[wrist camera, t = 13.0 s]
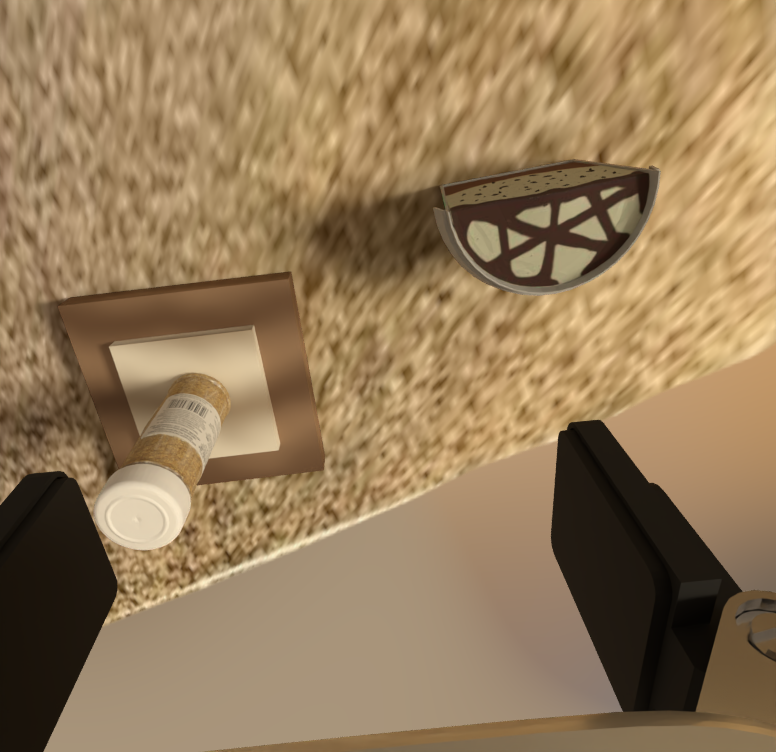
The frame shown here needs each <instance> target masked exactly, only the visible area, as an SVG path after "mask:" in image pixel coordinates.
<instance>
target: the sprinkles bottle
mask: <svg viewBox="0 0 776 752" xmlns="http://www.w3.org/2000/svg"><path fill="white" fill-rule="evenodd" d="M230 408H231V399H230V396H229V393H228V392H227V390H226V388H225V387H224V386H223V384H222V383H220V382H219V381H218V380H216V379H215V378H213V377H211V376H207V375H205V374H197V373H192V374H187V375H184V376H182V377H180V378H178V379H177V380H175V381H174V382H173V384H172V385H171V387H170V388H169V390H168V394H167V396H166V397H165V399H164V401H163V402H162V403H161V405H160V406H159V407H158V408H157V409H156V411H155V412H154V414H153V415H152V417H151V418H150V420H149V421H148V423H147V424H146V426H145V427H144V429H143V431H142V433H141V436H140V437H139V438H138V440H137V442H136V443H135V445H134V447H133V448H132V450H131V451H130V453H129V454H128V456H127V457H126V459H125V461H124V463H123V464H122V466H121V467H120V469H119V470H117V471H116V472H115V473H114V474H113V475H112V476H111V477H110V478H109V479H108V481H107V482H106V484H105V485H104V487H103V488H102V490H101V492H100V494H99V495H98V497H97V499H96V501H95V505H94V518H95V521H96V523H97V525H98V527H99V529H100V530H101V531H102V533H103V534H104V535H105V536H106V537H108V538H109V539H110V540H112V541H113V542H115V543H117V544H119V545H121V546H123V547H127V548H130V549H135V550H151V549H157V548H160V547H163V546H165V545H167V544H169V543H170V542H172V541H173V540H174V539H175V538H176V537H177V536H178V534H179V533H180V531H181V529H182V527H183V525H184V523H185V521H186V518H187V516H188V513H189V511H190V506H191V498H192V495H193V493H194V490H195V488H196V485H197V483H198V481H199V480H200V478H201V476H202V473H203V471H204V469H205V466H206V464H207V461H208V459H209V457H210V454H211V452H212V450H213V447H214V445H215V443H216V440H217V438H218V435H219V433H220V429H221V426H222V424H223V421H224V419H225V418H226V416H227V415H228V413H229V411H230Z"/></svg>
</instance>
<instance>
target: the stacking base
mask: <svg viewBox="0 0 776 752" xmlns="http://www.w3.org/2000/svg"><path fill="white" fill-rule="evenodd" d="M58 309H59V312H60V314H61V317H62V320H63V322H64V325H65V328H66V330H67V333H68V336H69V338H70V341H71V344H72V346H73V349H74V351H75V354H76V357H77V359H78V362H79V365H80V367H81V370H82V373H83V375H84V378H85V381H86V383H87V386H88V389H89V391H90V394H91V397H92V399H93V402H94V404H95V407H96V410H97V412H98V415H99V418H100V420H101V423H102V426H103V428H104V431H105V434H106V436H107V439H108V442H109V444H110V447H111V449H112V452H113V455H114V457H115V460H116V463H117V465H118V468H119V469H120V467H121V466H122V464H123V463H124V461H125V459H126V457H127V456H128V454H129V453H130V451H131V450H132V448H133V447H134V445H135V443H136V442H137V440H138V438H139V437H140V436H141V433H142V431H143V429H144V427H145V426H146V424H147V423H148V421H149V420H150V418H151V417H152V415H153V414H154V412H155V411H156V409H157V408H158V407H159V406H160V405H161V403H162V402H163V401H164V399H165V397H166V396H167V394H168V390H169V388H170V387H171V385H172V384H173V382H174V381H175V380H177V379H178V378H180V377H182V376H184V375H187V374H192V373H197V374H205V375H207V376H211V377H213V378H215V379H216V380H218V381H219V382H220V383H222V384H223V386H224V387H225V388H226V390H227V392H228V393H229V396H230V399H231V408H230V411H229V413H228V415H227V416H226V418H225V419H224V421H223V424H222V426H221V429H220V433H219V435H218V438H217V440H216V443H215V445H214V447H213V450H212V452H211V454H210V457H209V459H208V461H207V464H206V466H205V469H204V471H203V473H202V476H201V478H200V480H199V481H198V483H197V485H204V484H212V483H220V482H229V481H237V480H246V479H254V478H262V477H271V476H279V475H288V474H296V473H304V472H313V471H321V470H324V463H325V454H324V448H323V443H322V437H321V432H320V426H319V421H318V416H317V410H316V405H315V399H314V394H313V388H312V383H311V377H310V372H309V366H308V361H307V356H306V350H305V345H304V339H303V334H302V328H301V323H300V317H299V312H298V307H297V301H296V296H295V290H294V285H293V279H292V274H291V272H284V273H275V274H267V275H258V276H250V277H241V278H233V279H224V280H216V281H207V282H199V283H190V284H182V285H173V286H165V287H156V288H148V289H139V290H131V291H123V292H114V293H106V294H97V295H89V296H80V297H72V298H69V299H68V300H66V301H65V302H63V303H62V304H60V305H59V306H58Z"/></svg>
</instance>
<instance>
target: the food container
mask: <svg viewBox="0 0 776 752" xmlns="http://www.w3.org/2000/svg"><path fill="white" fill-rule="evenodd" d="M660 172H661V171H659V169H658V168H656V167H654V166H649V169H645V168H637V167H629V166H622V165H614V164H607V163H599V162H591V161H584V160H576V159H574V160H568V161H563V162H558V163H553V164H548V165H542V166H537V167H532V168H527V169H522V170H517V171H511V172H506V173H501V174H496V175H491V176H486V177H480V178H475V179H470V180H465V181H460V182H454V183H449V184H444V185H440V189H441V194H442V198H443V203H444V207H445V210H442V209H439V208H437V207H434V208H433V210H434V215H435V219H436V224H437V226H438V229H439V231H440V234H441V236H442V239H443V241H444V243H445V244H446V246H447V248H448V249H449V251H450V253H451V254H452V255H453V257H454V258H455V259H456V260H457V261H458V263H459V264H460V265H461V266H462V267H463V268H464V269H465V270H467V271H468V272H469V273H470V274H471V275H473V276H474V277H476V278H477V279H479V280H481V281H482V282H484V283H486V284H488V285H490V286H493V287H496V288H498V289H501V290H504V291H507V292H512V293H517V294H522V295H537V296H539V295H549V294H556V293H560V292H564V291H568V290H571V289H573V288H576V287H578V286H581V285H583V284H585V283H587V282H590V281H591V280H593V279H595V278H596V277H598V276H600V275H601V274H603V273H604V272H606V271H607V270H608V269H609V268H611V267H612V266H613V265H614V264H616V263H617V262H618V261H619V260H620V259H621V258H622V257H623V256H624V255H625V254H626V253H627V252H628V251H629V249H630V248H631V247H632V245H633V244H634V243H635V241H636V240H637V239H638V237H639V236H640V234H641V232H642V230H643V229H644V227H645V225H646V223H647V222H648V219H649V217H650V214H651V212H652V209H653V207H654V204H655V200H656V196H657V192H658V188H659V181H660Z"/></svg>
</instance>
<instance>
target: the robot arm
mask: <svg viewBox="0 0 776 752" xmlns="http://www.w3.org/2000/svg"><path fill="white" fill-rule="evenodd" d="M551 543H552V548H553V552H554V555H555V557H556V560H557V562H558V564H559V566H560V569H561V571H562V573H563V576H564V578H565V580H566V582H567V585H568V587H569V589H570V591H571V594H572V596H573V598H574V601H575V603H576V605H577V608H578V610H579V612H580V615H581V617H582V619H583V621H584V624H585V626H586V628H587V630H588V633H589V635H590V637H591V640H592V642H593V644H594V646H595V649H596V651H597V653H598V656H599V658H600V660H601V663H602V664H603V667H604V669H605V672H606V674H607V676H608V679H609V681H610V683H611V685H612V687H613V690H614V692H615V695H616V697H617V699H618V701H619V704H620V706H621V708H622V710H623V712H612V713H601V714H587V715H575V716H562V717H550V718H538V719H525V720H513V721H503V722H492V723H482V724H472V725H462V726H452V727H441V728H431V729H421V730H411V731H401V732H391V733H380V734H370V735H360V736H350V737H340V738H331V739H321V740H311V741H302V742H292V743H282V744H272V745H263V746H253V747H244V748H234V749H224V750H215V751H205V752H776V593H775V592H771V591H760V590H751V591H745V592H742V590H741V589H740V588H739V587H738V585H737V584H736V583H735V581H734V580H733V579H732V578H731V576H730V575H729V574H728V572H727V571H726V570H725V569H724V567H723V566H722V565H721V563H720V562H719V561H718V560H717V558H716V557H715V556H714V555H713V553H712V552H711V551H710V549H709V548H708V547H707V546H706V544H705V543H704V542H703V540H702V539H701V538H700V537H699V535H698V534H697V533H696V532H695V530H694V529H693V528H692V526H691V525H690V524H689V523H688V521H687V520H686V519H685V517H683V515H682V514H681V512H680V511H679V510H678V509H677V507H676V506H675V505H674V503H673V502H672V501H671V500H670V498H669V497H668V496H667V494H666V493H665V492H664V491H663V490H662V489H661V488H660V487H659V486H658V485H657V484H654V483H649V482H648V481H647V480H646V478H645V477H644V476H643V474H642V473H641V472H640V470H639V469H638V468H637V467H636V466H635V464H634V463H633V461H632V460H631V459H630V457H629V456H628V455H627V453H626V452H625V451H624V449H623V448H622V447H621V446H620V444H619V443H618V442H617V440H616V439H615V438H614V436H613V435H612V434H611V432H610V431H609V430H608V428H607V427H606V426H605V424H604V423H603V422H602V421H601V420H591V421H581V422H571V423H570V424H569V425H568V427H567V430H565V431H560V433H559V436H558V447H557V461H556V474H555V488H554V501H553V515H552V528H551ZM116 594H117V579H116V576H115V574H114V571H113V569H112V566H111V564H110V561H109V559H108V557H107V554H106V552H105V549H104V547H103V544H102V542H101V539H100V537H99V534H98V532H97V530H96V527H95V525H94V522H93V520H92V517H91V515H90V512H89V510H88V507H87V505H86V502H85V500H84V498H83V495H82V493H81V490H80V488H79V485H78V483H77V481H76V480H75V479H74V478H68V476H67V475H66V474H65V473H64V472H61V471H55V472H45V473H34V474H29V475H27V476H25V477H24V478H23V479H22V480H21V482H20V483H19V484H18V485H17V486H16V487H15V489H14V490H13V491H12V492H11V493H10V494H9V496H8V497H7V498H6V499H5V500H4V502H3V503H2V504H1V505H0V752H43V751H44V749H45V747H46V745H47V743H48V741H49V738H50V736H51V734H52V732H53V730H54V728H55V726H56V724H57V722H58V719H59V717H60V715H61V713H62V711H63V709H64V707H65V704H66V702H67V700H68V698H69V696H70V694H71V692H72V689H73V687H74V685H75V683H76V681H77V679H78V677H79V674H80V672H81V670H82V668H83V666H84V664H85V662H86V659H87V657H88V655H89V653H90V651H91V649H92V647H93V645H94V643H95V640H96V638H97V636H98V634H99V632H100V630H101V628H102V625H103V623H104V621H105V619H106V617H107V615H108V613H109V611H110V608H111V606H112V604H113V602H114V600H115V597H116Z"/></svg>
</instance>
